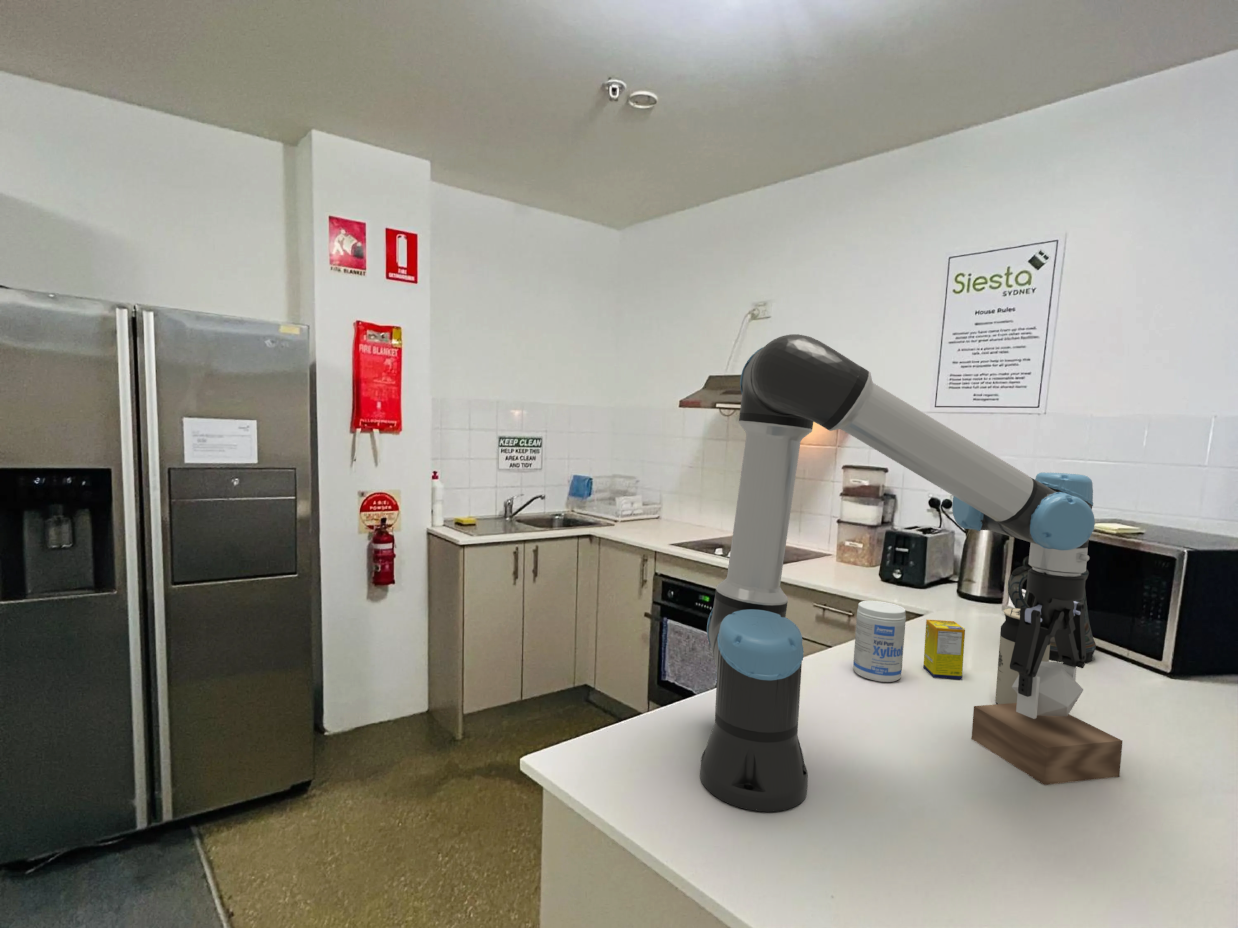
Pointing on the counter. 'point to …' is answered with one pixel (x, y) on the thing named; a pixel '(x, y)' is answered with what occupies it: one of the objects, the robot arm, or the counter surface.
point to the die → (1055, 690)
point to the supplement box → (944, 649)
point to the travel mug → (1009, 658)
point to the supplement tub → (879, 641)
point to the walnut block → (1047, 744)
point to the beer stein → (1019, 601)
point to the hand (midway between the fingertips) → (1044, 709)
